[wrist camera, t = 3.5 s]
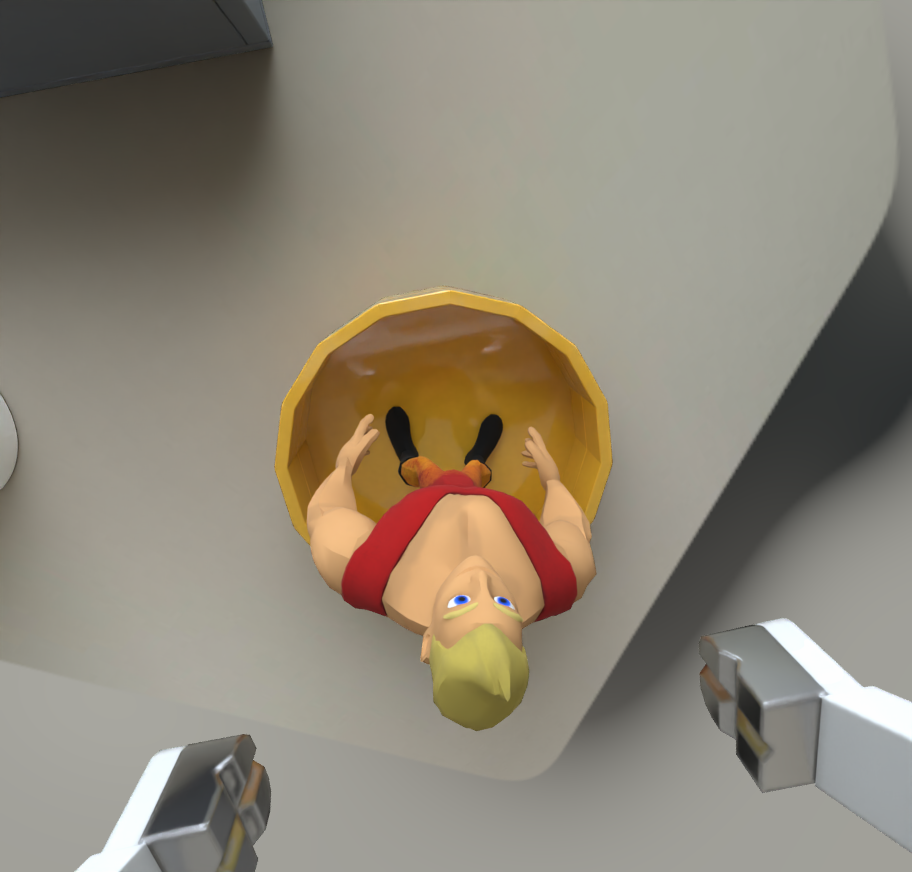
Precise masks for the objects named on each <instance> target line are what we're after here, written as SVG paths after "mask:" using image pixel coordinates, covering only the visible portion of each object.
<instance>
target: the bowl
mask: <svg viewBox="0 0 912 872" xmlns="http://www.w3.org/2000/svg"><path fill="white" fill-rule="evenodd" d="M392 407H401V408H402V409H403V410H404V411H405V412H406V414H407V415H408V417H409V422H410V432H411V438H412V442H413V444H414V446H415V447H416V449H417V451H418V454H419V456H424V457H426V458H428V459H430V460H431V461H432V462H433V463H435V464H436V465H437V466H438V467H440V468H441V469H442V470H443V471H447V470H452V469H455V470H458V471H462V469H463V468H464V467H465V466H466V465H465V464H464V460H465V456H466V455H467V453H468V452H469V451H470V450H471V449H472V448H473V446H474V445H475V442H476V440H477V437H478V433H479V429H480V426H481V423H482V422H483V421H484V419H485V418H486V417H488V416H489V415H490V414H495V415H498V416H499V417H500V418H501V419H502V423H503V431H502V434H501V437H500V439H499V441H498V443H497V445H496V447H495V448H494V450H493V452H492V453H491V454H490V456H489V457H488V459H487V461H486V462H485V464H486V465H487V466H488V467H489V468H490V469H491V470H492V479H491V481H490V482H489V484H488V485H487V486H486V487H485V488H487V489H493V490H496V491H500V492H504V493H506V494H508V495H511V496H513V497H515V498H517V499H519V500H521V501H523V503H524V504H525V505H526V506H527V507H528V508H529V509H530V510H531V511H532V513H533V514H534V515H535V516H536V518H537V519H538V521H539V522H540V518H541V514H542V509H543V505H544V499H545V492H546V491H545V490H544V489H543V487H542V485H541V481H540V477H539V473H538V469H536V468H529V467H526V466H523V465H522V462H524V461H528V462H535V461H534V459H531V458H528V457H525V456H523V455H522V452H523V451H527V450H526V448H525V439H526V438H531V439H532V437H531V436H530V435H529V433H528V428H529V427H533V428H535V429H536V431H537V432H538V433H539V434H540V435H541V437H542V440H543V442H544V444H545V447H546V450H547V451H548V453H549V454H550V456H551V457H552V459H553V460H554V462H555V464H556V466H557V468H558V471H559V476H560V482H561V483H562V484H563V485H564V486H565V488H566V489H567V490H568V491H569V493H570V494H571V495H572V496H573V498H574V499H575V500H576V502H577V503H578V504H579V506H580V507H581V508H582V510H583V512H584V514H585V516H586V517H587V519H588V521H589V524H591V523H592V522H593V520H594V519H595V516H596V513H597V510H598V506H599V503H600V500H601V497H602V494H603V491H604V488H605V485H606V482H607V479H608V476H609V473H610V470H611V467H612V463H613V460H612V449H611V437H610V425H609V413H608V403H607V400H606V398H605V397H604V395H603V393H602V391H601V389H600V388H599V386H598V384H597V382H596V380H595V379H594V377H593V375H592V373H591V371H590V370H589V368H588V366H587V364H586V363H585V361H584V359H583V357H582V355H581V354H580V352H579V350H578V348H577V347H576V346H575V345H574V344H573V343H572V342H570V341H569V340H568V339H566V338H565V337H563V336H562V335H561V334H559V333H558V332H557V331H555V330H554V329H553V328H551V327H550V326H549V325H547V324H546V323H544V322H543V321H542V320H540V319H539V318H538V317H536V316H535V315H534V314H532V313H531V312H529V311H528V310H527V309H525V308H524V307H523V306H521V305H519V304H516V303H513V302H511V301H508V300H506V299H503V298H499V297H495V296H490V295H485V294H481V293H477V292H473V291H467V290H463V289H458V288H454V287H449V286H439V287H434V288H429V289H424V290H416V291H411V292H407V293H403V294H398V295H393V296H387V297H384V298H381V299H380V300H378V301H377V302H375V303H374V304H372V305H371V306H370V307H368V308H367V309H365V310H364V311H362V312H361V313H359V314H358V315H356V316H355V317H354V318H352V319H351V320H349V321H348V322H346V323H345V324H343V325H342V326H341V327H339V328H338V329H336V330H335V331H333V332H332V333H331V334H330V335H329V336H327V337H326V338H325V339H324V340H323V341H322V342H320V343H319V344H318V345H317V346H316V348H315V349H314V351H313V353H312V354H311V356H310V358H309V359H308V361H307V363H306V364H305V366H304V368H303V369H302V371H301V373H300V374H299V376H298V377H297V379H296V381H295V382H294V384H293V386H292V387H291V389H290V391H289V392H288V394H287V396H286V397H285V399H284V401H283V402H282V405H281V413H280V422H279V431H278V439H277V448H276V457H275V466H274V467H275V472H276V475H277V478H278V481H279V484H280V487H281V490H282V493H283V496H284V499H285V503H286V506H287V509H288V512H289V515H290V518H291V521H292V524H293V526H294V528H295V529H296V531H297V532H298V533H299V534H300V535H301V536H302V537H303V539H304V540H305V541H306V542H307V543H308V544H309V545H310V536H309V533H308V530H307V512H308V505H309V503H310V501H311V499H312V497H313V496H314V494H315V492H316V490H317V489H318V488H319V487H320V485H321V484H322V483H323V482H324V480H325V479H326V478H327V477H328V476H329V475H330V474H331V473H332V472H333V471H334V470H335V469H336V460H337V457H338V455H339V452H340V450H341V449H342V447H343V446H344V445H345V444H346V443H347V442H348V441H349V440H350V439H351V437H352V436H354V433H355V431H356V429H357V427H358V425H359V423H360V421H361V420H362V419H363V418H364V417H365V416H366V415H369V414H372V415H373V416H374V420H373V422H372V423H371V424H370V425H369V426H371V427H372V429H377V430H378V431H379V432H380V434H379V436H378V438H377V440H376V441H374V442H373V443H372V444H371V445H370V447H369V449H368V450H369V451H370V454H369V455H366V456H364V457H363V459H362V461H361V463H360V465H359V467H358V469H357V471H356V473H355V474H354V475H352V479H351V482H352V488H353V491H354V496H355V501H356V507H357V512H359V513H361V514H363V515H365V516H366V517H368V518H370V519H371V520H373V521H374V522H375V523H376V524H377V523H378V521H379V520H380V519H381V517H382V516H383V515H384V514H385V513H386V512H387V511H388V510H389V509H390V508H391V507H392V506H394V505H395V504H397V503H398V502H399V501H401V500H402V499H403V498H404V497H405V496H406V495H407V494H409V493H411V492H413V491H415V490H418V489H420V487H417V488H416V487H413V486H409V485H406V484H405V483H404V481H403V480H402V478H401V477H400V475H399V473H398V468H399V465H400V460H399V458H398V456H397V455H396V452H395V450H394V448H393V446H392V444H391V441H390V438H389V436H388V433H387V430H386V424H385V420H386V415H387V413H388V411H389V410H390V409H391V408H392ZM532 440H533V439H532ZM310 546H311V545H310Z"/></svg>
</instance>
